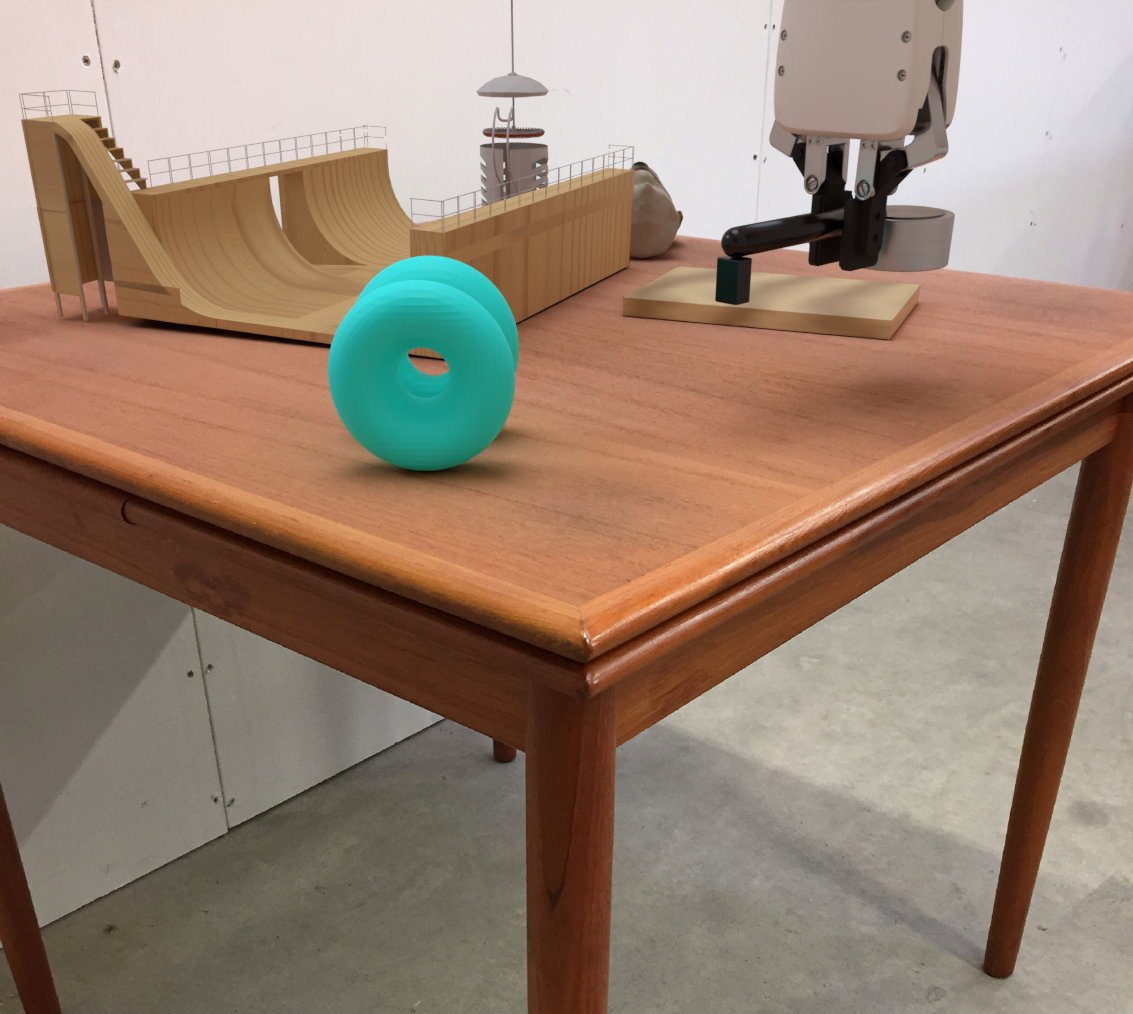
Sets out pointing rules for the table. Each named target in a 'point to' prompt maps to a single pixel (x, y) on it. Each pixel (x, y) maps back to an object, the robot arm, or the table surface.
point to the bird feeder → (514, 154)
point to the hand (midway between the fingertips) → (842, 263)
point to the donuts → (405, 394)
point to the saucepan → (906, 247)
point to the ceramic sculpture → (651, 214)
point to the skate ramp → (298, 234)
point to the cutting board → (779, 303)
